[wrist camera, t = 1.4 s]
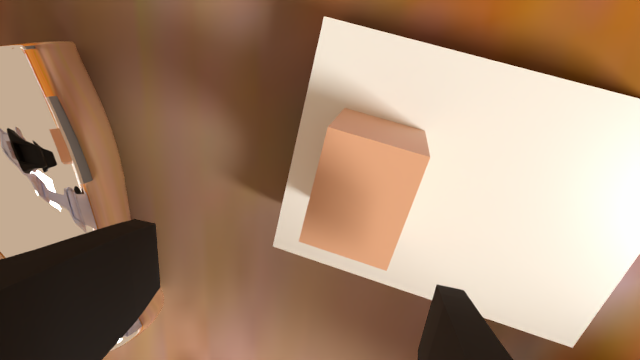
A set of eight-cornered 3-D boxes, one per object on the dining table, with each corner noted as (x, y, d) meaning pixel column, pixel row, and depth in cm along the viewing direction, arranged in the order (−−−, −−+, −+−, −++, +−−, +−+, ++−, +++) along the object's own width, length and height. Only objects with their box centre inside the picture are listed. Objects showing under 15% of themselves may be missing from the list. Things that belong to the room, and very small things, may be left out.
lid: (712, 117, 12) (848, 153, 8) (564, 333, 16) (612, 422, 12) (328, 17, 13) (298, 9, 10) (278, 237, 17) (243, 291, 13)
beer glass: (115, 277, 26) (20, 55, 20) (195, 286, 23) (112, 36, 18) (11, 357, 20) (-162, 73, 14) (105, 380, 17) (-61, 48, 12)
